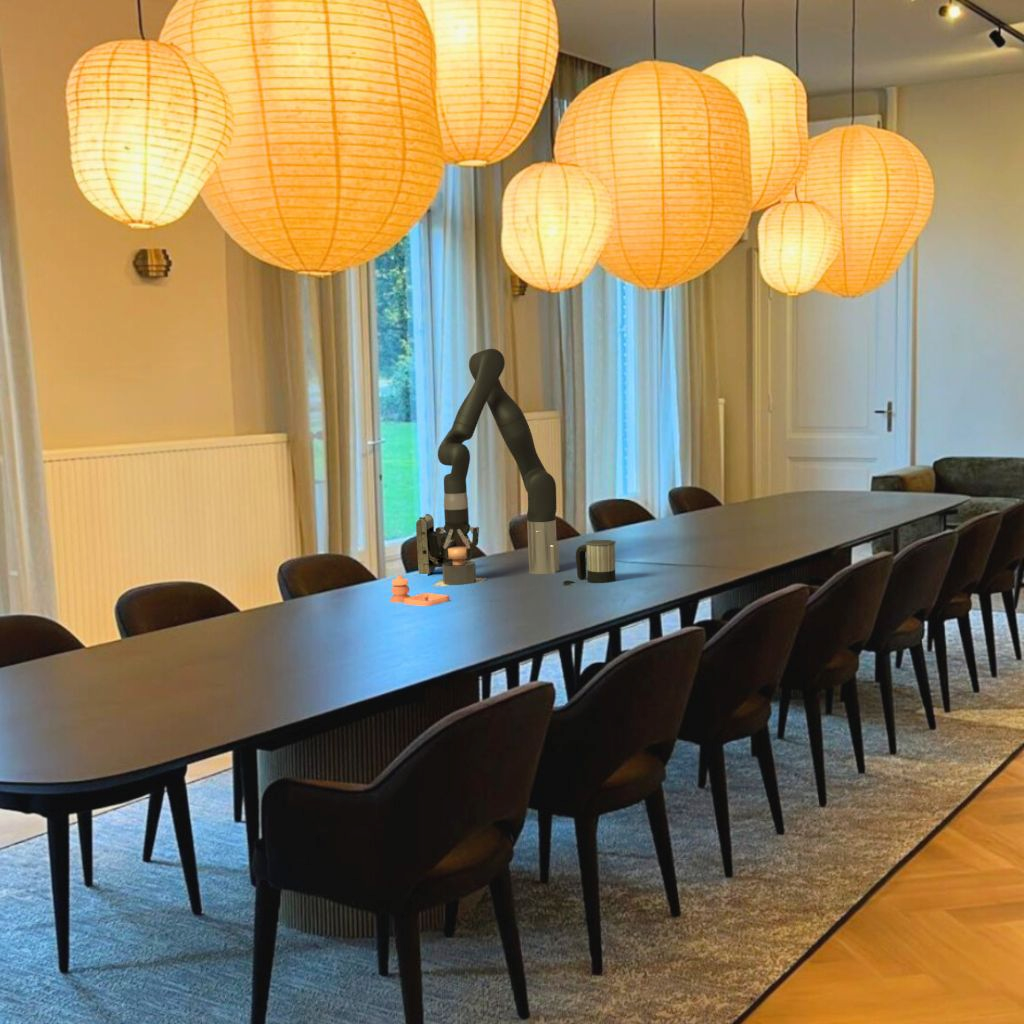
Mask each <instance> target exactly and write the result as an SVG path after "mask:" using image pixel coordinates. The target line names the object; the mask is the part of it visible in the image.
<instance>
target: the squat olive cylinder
mask: <svg viewBox="0 0 1024 1024" xmlns="http://www.w3.org/2000/svg"><path fill="white" fill-rule="evenodd" d="M441 568H442V580H443V583H444V584H447V585H450V586H462V585H463V586H464V584H465V585H471V584H475V583H477V582H476V578H477V575H476V574H477V572H476V562H475V561H473V560H469V561H465V564H462V565H453V563H452V561H450V562H445V563H443V564H442V567H441ZM474 582H475V583H474Z"/></svg>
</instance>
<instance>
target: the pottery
mask: <svg viewBox="0 0 1024 1024" xmlns="http://www.w3.org/2000/svg"><path fill="white" fill-rule="evenodd" d="M408 583H409V580H408V579H407V578H405V577H403V574H397V575H396V578H394V579H393V580H392V581H391V585H393V586H391V593H392V594H393V595H392V596H391V597H390V600H389V602H390V603H394V602H395V603H397V604H398V603H404V605H405V606H407V605H408V606H418V607H421V606H422V607H430V606H434V605H439V604H443V603H446V602H450V598H451V597H450V595H447V594H441V593H431V592H424V593H420V594H417V595H412V596H410V595H409V592H410V587H409V585H408Z"/></svg>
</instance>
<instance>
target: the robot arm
mask: <svg viewBox="0 0 1024 1024" xmlns="http://www.w3.org/2000/svg"><path fill="white" fill-rule="evenodd" d="M468 361H469V362H468V367H469V373H470V374H471V376H472V378H473V380H474V382H473V384H472V387H471V389H470V391H469V392H468V394H467V395H466V397H465V398H464V400H463V402H462V403H461V405H460V407H459V409H458V411H457V412H456V415H455V417H454V421H453V423H452V427H451V429H450V430H449V431H448V432H447V434H446V435H445V437H444V438H443V440H442V441H441V443H440V445H439V446H438V448H437V449H438V451H437V459H438V461H439V463H440V464H441V465H443V466H450V467H451V470H450V473H447V474H445V475H444V477H443V493H444V494H443V510H444V511H443V512H444V526H438V527H436V528H434V531H436V536H437V542H438V546H439V547H443V548H444V554H445V558H446V560H450V559H449V558H448V548H449V546H450V544H451V542H452V540H454V539H456V540H461V541H462V542H463V544H464V545H465V547H467V549H466V554H467V560H469V561H472V559H473V555H474V554H473V548H474V547H476V546H478V545H479V538H480V537H479V535H480V527H478V526H474V527H473V526H471V525H470V519H469V518H470V517H469V498H468V494H467V490H468V489H467V478H468V472H469V468H470V461H471V453H470V449H469V448H468V447H467V446H466V444H464V442H466V441H469V440H470V439H472V438H473V437H474V433H475V430H476V428H477V426H478V423H479V420H480V418H481V414H482V412H483V410H484V407H485V405H486V404H487V406H488V408H489V410H490V412H491V415H492V417H493V418H494V421H495V423H496V426H497V428H498V431H499V432H500V435H501V437H502V439H503V441H504V442H505V443H504V444H505V445H506V447H507V449H508V450H509V452H510V454H511V456H512V458H513V459H514V461H515V462H516V464H517V467H518V471H519V473H520V476H521V479H522V482H523V486H524V488H525V491H526V492H527V512H526V522H527V523H526V524H527V547H528V571H529V572H528V573H529V574H531V575H545V574H547V575H548V574H556V573H557V572H559V571H560V555H559V553H560V551H559V549H560V547H559V542H558V541H557V521H556V516H557V485H556V484H557V483H556V481H555V478H554V477H553V475H552V474H550V473H549V472H548V471H547V470H546V468H545V467H544V465H543V462H542V461H541V459H540V457H539V454H538V453H537V450H536V446H535V441H534V438H533V434H532V432H531V428H530V424H529V423H528V420H527V419H526V416H525V415H524V412H523V411H522V408H521V407H520V406H519V405H518V404H517V402H516V401H515V400H514V398H513V399H512V398H511V396H510V395H509V394H508V393H507V392H506V390H505V388H504V387H503V385H502V383H501V381H500V379H499V378H500V377H501V375H502V373H503V372H504V369H505V364H506V362H505V357H504V355H503V353H502V352H501V351H500V350H498V349H496V348H487V349H484V350H480V351H477V352H475V353H473V354H472V355H471V357H470V358H469V360H468ZM469 532H471V535H472V537H471V538H472V540H471V538H470V536H469ZM443 533H446V534H447V535H448V536H447V538H446V541H445V543H444V540H443Z"/></svg>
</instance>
